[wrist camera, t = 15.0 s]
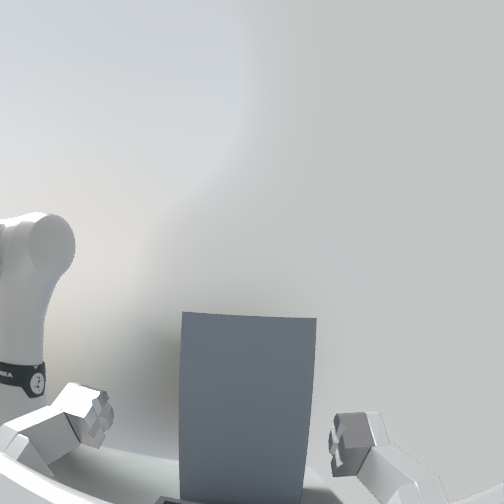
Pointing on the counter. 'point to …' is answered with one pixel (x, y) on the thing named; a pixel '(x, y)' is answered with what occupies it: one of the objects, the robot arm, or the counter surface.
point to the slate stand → (244, 407)
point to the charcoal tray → (173, 501)
